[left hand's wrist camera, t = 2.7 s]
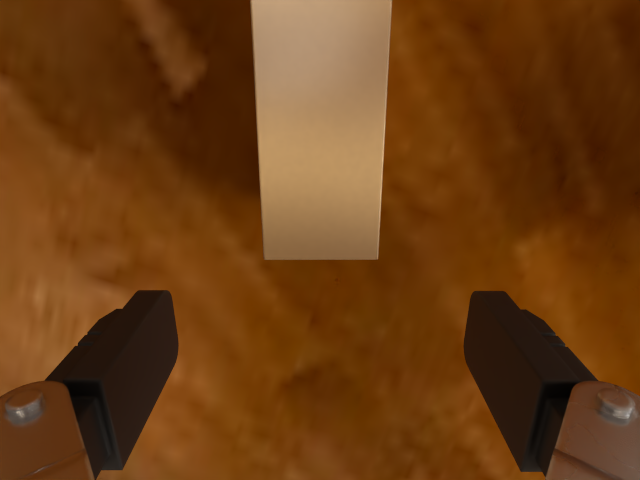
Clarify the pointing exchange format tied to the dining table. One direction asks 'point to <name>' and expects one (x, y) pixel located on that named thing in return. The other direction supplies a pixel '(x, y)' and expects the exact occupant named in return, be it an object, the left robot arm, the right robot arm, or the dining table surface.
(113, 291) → the dining table surface
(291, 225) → the box
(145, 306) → the left robot arm
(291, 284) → the dining table surface
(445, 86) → the dining table surface
